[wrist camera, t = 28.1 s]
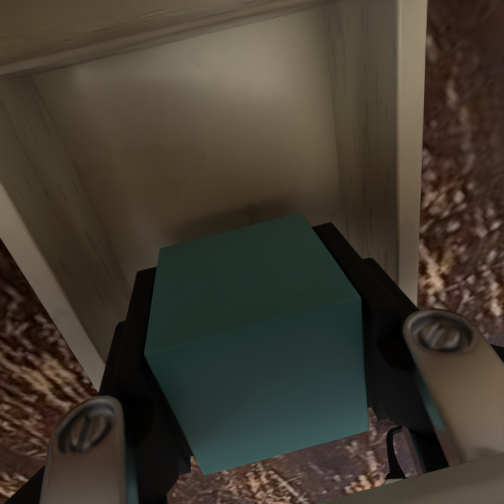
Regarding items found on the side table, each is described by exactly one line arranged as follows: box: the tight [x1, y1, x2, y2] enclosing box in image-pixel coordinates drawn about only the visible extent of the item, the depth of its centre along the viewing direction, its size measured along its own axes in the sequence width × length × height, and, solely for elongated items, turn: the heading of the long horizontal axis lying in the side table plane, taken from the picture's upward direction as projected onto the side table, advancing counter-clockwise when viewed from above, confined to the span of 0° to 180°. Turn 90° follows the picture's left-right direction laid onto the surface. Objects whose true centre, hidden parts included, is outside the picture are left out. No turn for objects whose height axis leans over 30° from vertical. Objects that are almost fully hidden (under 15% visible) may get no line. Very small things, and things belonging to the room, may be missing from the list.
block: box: [144, 213, 369, 475], centre depth 9 cm, size 4×4×4 cm
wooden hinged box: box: [0, 0, 427, 458], centre depth 11 cm, size 12×9×5 cm
